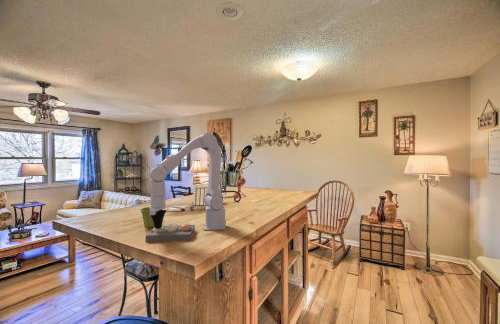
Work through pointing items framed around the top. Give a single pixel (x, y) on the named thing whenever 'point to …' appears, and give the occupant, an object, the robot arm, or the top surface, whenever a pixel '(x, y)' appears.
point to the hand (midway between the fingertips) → (158, 228)
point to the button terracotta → (184, 227)
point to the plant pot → (147, 218)
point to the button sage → (158, 229)
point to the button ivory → (172, 228)
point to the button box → (170, 235)
